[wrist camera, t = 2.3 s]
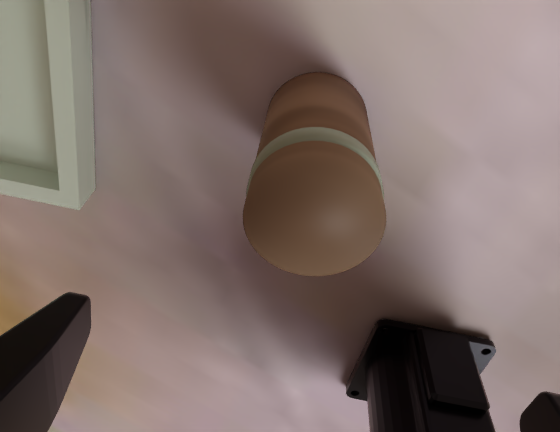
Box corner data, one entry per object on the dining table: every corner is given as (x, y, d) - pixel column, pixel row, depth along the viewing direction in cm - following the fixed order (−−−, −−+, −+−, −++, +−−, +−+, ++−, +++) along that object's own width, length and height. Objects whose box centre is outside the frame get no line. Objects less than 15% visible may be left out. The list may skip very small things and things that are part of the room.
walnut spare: (351, 175, 20) (362, 289, 15) (257, 155, 20) (231, 262, 14) (382, 84, 18) (409, 176, 12) (276, 60, 18) (254, 142, 12)
